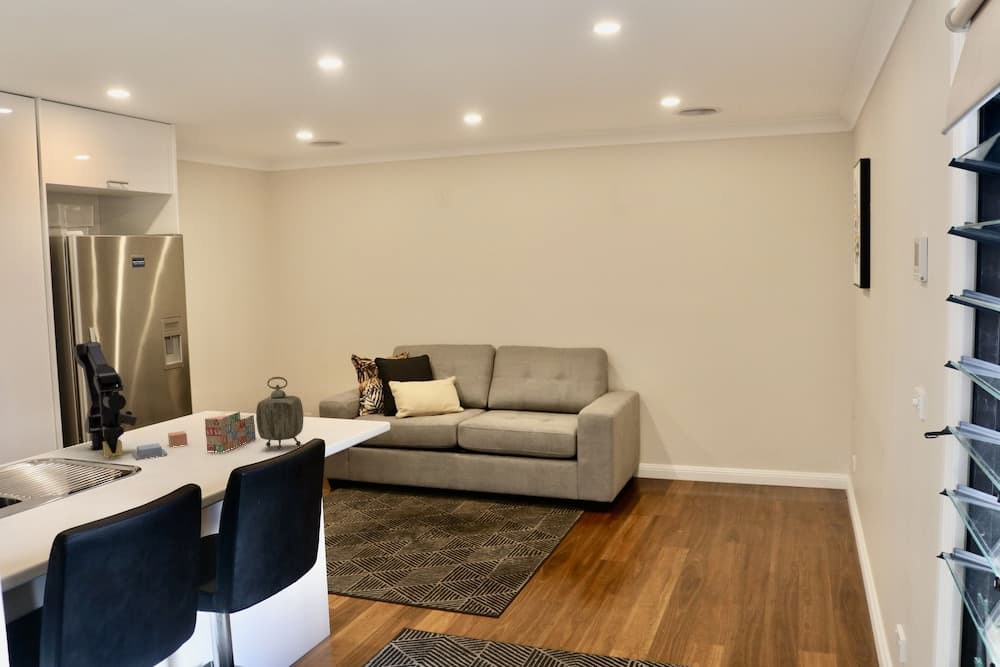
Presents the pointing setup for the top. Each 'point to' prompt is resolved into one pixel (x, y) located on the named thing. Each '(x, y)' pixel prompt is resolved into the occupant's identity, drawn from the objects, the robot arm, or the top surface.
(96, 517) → the top surface
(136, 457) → the baseplate
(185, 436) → the terracotta brick
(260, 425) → the tabletop clock
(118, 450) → the mustard brick
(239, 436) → the stack of blocks
